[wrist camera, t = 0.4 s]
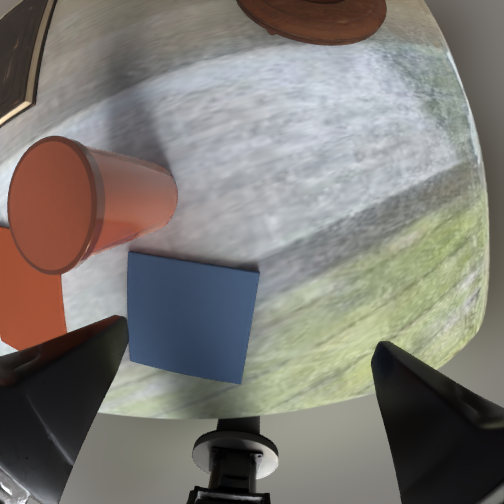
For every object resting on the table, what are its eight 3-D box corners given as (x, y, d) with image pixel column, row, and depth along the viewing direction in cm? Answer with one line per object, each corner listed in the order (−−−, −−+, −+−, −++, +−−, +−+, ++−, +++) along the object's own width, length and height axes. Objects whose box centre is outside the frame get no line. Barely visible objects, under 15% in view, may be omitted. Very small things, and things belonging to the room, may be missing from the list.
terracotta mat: (75, 375, 28) (73, 377, 27) (3, 339, 28) (1, 340, 27) (60, 237, 24) (57, 238, 24) (-13, 223, 24) (-15, 224, 24)
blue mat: (241, 381, 26) (240, 384, 26) (131, 358, 26) (129, 361, 26) (259, 271, 24) (259, 273, 24) (130, 250, 24) (127, 251, 24)
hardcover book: (63, -16, 16) (56, -23, 14) (35, 104, 21) (23, 101, 19) (-3, 32, 17) (-10, 28, 15) (-26, 148, 22) (-36, 147, 20)
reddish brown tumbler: (175, 240, 24) (95, 288, 11) (109, 230, 24) (8, 262, 11) (185, 162, 22) (106, 132, 10) (116, 157, 22) (13, 140, 10)
